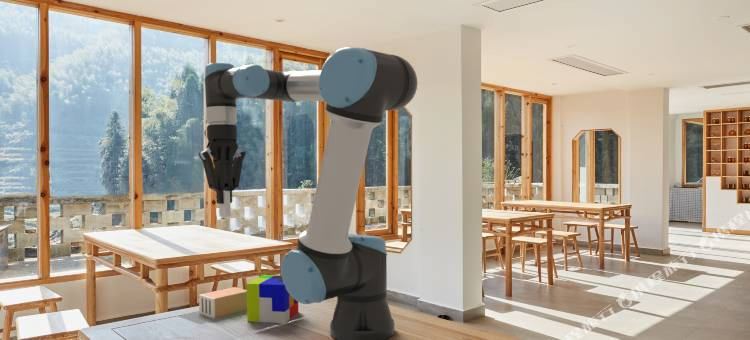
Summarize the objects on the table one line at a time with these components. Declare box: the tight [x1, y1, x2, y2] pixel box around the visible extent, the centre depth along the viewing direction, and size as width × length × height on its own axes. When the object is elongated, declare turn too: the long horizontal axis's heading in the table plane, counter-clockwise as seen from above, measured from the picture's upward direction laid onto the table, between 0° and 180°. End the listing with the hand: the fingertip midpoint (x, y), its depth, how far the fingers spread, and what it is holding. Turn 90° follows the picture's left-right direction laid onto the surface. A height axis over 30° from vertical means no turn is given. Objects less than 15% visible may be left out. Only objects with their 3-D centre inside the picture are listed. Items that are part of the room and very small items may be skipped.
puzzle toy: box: [246, 274, 299, 326], centre depth 143 cm, size 10×10×10 cm
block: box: [198, 286, 247, 318], centre depth 149 cm, size 7×5×11 cm
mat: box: [177, 310, 247, 325], centre depth 147 cm, size 11×16×1 cm
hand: (225, 216), depth 142 cm, fingers closed
